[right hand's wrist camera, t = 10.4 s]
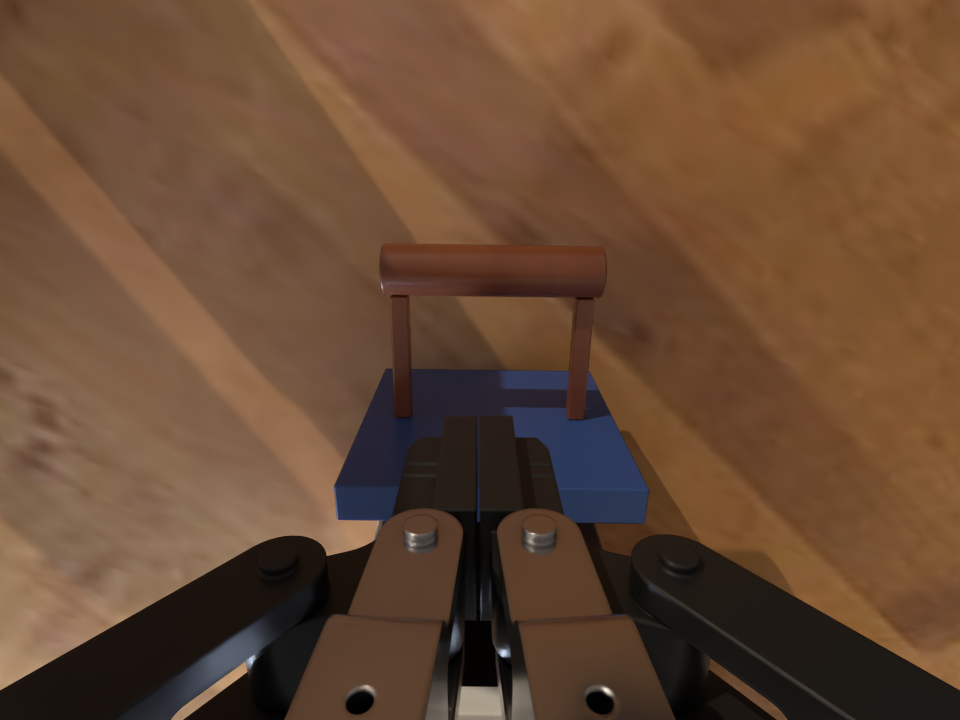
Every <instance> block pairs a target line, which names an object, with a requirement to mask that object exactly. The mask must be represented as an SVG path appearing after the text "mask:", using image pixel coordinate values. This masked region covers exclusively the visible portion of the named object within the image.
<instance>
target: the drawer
mask: <svg viewBox="0 0 960 720" xmlns="http://www.w3.org/2000/svg"><path fill="white" fill-rule="evenodd" d="M606 276H607V260H606V253H605V250H604V248H603V247H597V246H527V245H458V244H388V243H385V244H383V245H382V248H381V252H380V283H381V289H382V292H383V294H384V295H391V296H390V314H391V338H392V361H393V369H386V370H385V372H384V374H383V376H382V379H381V381H380V383H379V385H378V388H377V390H376V392H375V394H374V397H373V399H372V401H371V404H370V406H369V408H368V410H367V413H366V415H365V417H364V419H363V422H362V424H361V426H360V429H359V431H358V433H357V435H356V438H355V440H354V442H353V444H352V447H351V449H350V451H349V454H348V456H347V458H346V460H345V463H344V465H343V467H342V469H341V472H340V474H339V476H338V478H337V481H336V483H335V485H334V492H335V503H336V514H337V519H338V520H379V521H383V522H382V526H383V525H384V523H385V522H386V521H388V520H389V519H390V518H392V514H393V509H394V505H395V501H396V497H397V493H398V489H399V485H400V481H401V477H402V472H403V468H404V466H405V460H406V456H407V452H408V449H409V448H410V447H411V446H412V445H413V444H414V443H415V442H416V441H417V440H418V439H419V438H420V437H442V432H443V425H444V417H445V416H477V600H476V620H465V630H464V656H465V658H464V671H463V679H462V686H469V687H498V679H497V671H496V658H495V656H496V649H495V647H494V644H493V641H492V623H491V621H480V416H513V424H514V432H515V437H537V438H538V439H539V440H540V441H541V442H542V443H543V444H544V445H545V446H546V447H547V448H548V449H549V452H550V456H551V460H552V466H553V469H554V473H555V478H556V482H557V486H558V491H559V495H560V499H561V503H562V508H563V512H564V515H565V516H567V517H568V518H570V519H571V520H572V521H574V522H575V523H576V525H577V526H578V527H579V529H580V531H581V533H582V536H583V538H584V541H585V543H586V544H588V545H590V546H592V547H595V548H598V549H600V550H603V548H602V545H601V542H600V539H599V535H598V532H597V529H596V526H595V523H629V524H643V523H645V518H646V510H647V503H648V496H649V488H648V486H647V484H646V482H645V480H644V478H643V476H642V474H641V473H640V471H639V469H638V467H637V465H636V463H635V461H634V459H633V457H632V455H631V453H630V451H629V449H628V447H627V445H626V443H625V441H624V439H623V437H622V435H621V433H620V431H619V429H618V427H617V425H616V423H615V421H614V419H613V417H612V415H611V413H610V411H609V409H608V407H607V405H606V403H605V401H604V399H603V397H602V395H601V393H600V391H599V389H598V387H597V385H596V383H595V381H594V379H593V377H592V375H591V373H590V372H588V368H589V356H590V345H591V333H592V322H593V310H594V299H593V298H600V297H601V296H602V295H603V292H604V289H605V284H606ZM410 295H419V296H491V297H563V298H574V307H573V320H572V334H571V347H570V361H569V371H512V370H437V369H412V362H411V329H410ZM382 526H381V527H382Z"/></svg>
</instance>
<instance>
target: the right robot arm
mask: <svg viewBox="0 0 960 720" xmlns="http://www.w3.org/2000/svg"><path fill="white" fill-rule="evenodd" d="M476 600H477V416H445V417H444V425H443V432H442V437H420V438H419V439H418V440H417V441H416V442H415V443H414V444H413V445H412V446H411V447H410V448H409V449H408V452H407V456H406V460H405V466H404V468H403V472H402V477H401V481H400V485H399V489H398V493H397V497H396V501H395V505H394V509H393V514H392V518H390V519H389V520H388V521H386V522H385V523H384V525H383V526H382V527H381V529H380V531H379V533H378V536H377V538H376V540H374V541H373V542H371V543H369V544H367V545H365V546H363V547H361V548H358V549H355V550H351V551H348V552H343V553H339V554H334V555H330V556H326V552H325V549H324V548H323V546H322V545H321V544H320V543H319V542H317V541H315V540H313V539H311V538H308V537H303V536H283V537H278V538H274V539H270V540H267V541H265V542H262V543H260V544H258V545H256V546H254V547H252V548H250V549H249V550H247V551H245V552H243V553H242V554H240V555H238V556H236V557H235V558H233V559H231V560H229V561H228V562H226V563H224V564H222V565H220V566H219V567H217V568H215V569H213V570H212V571H210V572H208V573H206V574H205V575H203V576H201V577H199V578H198V579H196V580H194V581H192V582H191V583H189V584H187V585H185V586H183V587H182V588H180V589H178V590H176V591H175V592H173V593H171V594H169V595H168V596H166V597H164V598H162V599H161V600H159V601H157V602H155V603H154V604H152V605H150V606H148V607H146V608H145V609H143V610H141V611H139V612H138V613H136V614H134V615H132V616H131V617H129V618H127V619H125V620H124V621H122V622H120V623H118V624H117V625H115V626H113V627H111V628H109V629H108V630H106V631H104V632H102V633H101V634H99V635H97V636H95V637H94V638H92V639H90V640H88V641H87V642H85V643H83V644H81V645H80V646H78V647H76V648H74V649H72V650H71V651H69V652H67V653H65V654H64V655H62V656H60V657H58V658H57V659H55V660H53V661H51V662H50V663H48V664H46V665H44V666H43V667H41V668H39V669H37V670H35V671H34V672H32V673H30V674H28V675H27V676H25V677H23V678H21V679H20V680H18V681H16V682H14V683H13V684H11V685H9V686H7V687H6V688H4V689H2V690H0V720H171V718H172V717H173V716H174V715H175V714H176V713H177V712H178V711H179V710H180V709H181V708H182V707H183V706H184V705H186V704H187V703H188V702H190V701H191V700H192V699H194V698H195V697H197V696H198V695H199V694H201V693H202V692H203V691H205V690H206V689H208V688H209V687H210V686H212V685H213V684H214V683H216V682H217V681H219V680H220V679H221V678H223V677H224V676H226V675H227V674H228V673H230V672H231V671H232V670H234V669H235V668H237V667H238V666H239V665H241V664H242V663H243V662H245V661H246V666H247V671H248V672H247V673H246V674H244V675H243V676H242V677H240V678H239V679H238V680H236V681H235V682H234V683H232V684H231V685H230V686H228V687H227V688H225V689H224V690H223V691H221V692H220V693H219V694H217V695H216V696H215V697H213V698H212V699H211V700H209V701H208V702H207V703H205V704H204V705H203V706H201V707H200V708H199V709H197V710H196V711H194V712H193V713H192V714H190V715H189V716H188V717H186V718H185V719H184V720H458V713H459V704H460V696H461V687H462V679H463V671H464V658H465V656H464V630H465V620H476ZM480 621H491V623H492V641H493V644H494V647H495V649H496V656H495V658H496V671H497V679H498V687H499V696H500V704H501V713H502V720H776V719H775V718H774V717H772V716H771V715H770V714H768V713H767V712H765V711H764V710H763V709H761V708H760V707H759V706H757V705H756V704H755V703H753V702H752V701H751V700H749V699H748V698H747V697H745V696H744V695H743V694H741V693H740V692H739V691H737V690H736V689H735V688H733V687H732V686H730V685H729V684H728V683H726V682H725V681H724V680H722V679H721V678H720V677H718V676H717V675H716V674H714V673H713V672H712V671H710V670H709V665H710V660H711V659H712V660H714V661H715V662H717V663H718V664H719V665H721V666H722V667H723V668H725V669H726V670H728V671H729V672H730V673H732V674H733V675H734V676H736V677H737V678H739V679H740V680H741V681H743V682H744V683H746V684H747V685H748V686H750V687H751V688H752V689H754V690H755V691H757V692H758V693H759V694H761V695H762V696H763V697H765V698H766V699H768V700H769V701H770V702H772V703H773V704H774V705H775V706H776V707H777V708H778V709H780V710H781V712H782V713H783V714H784V715H785V716H786V718H787V719H788V720H960V690H958V689H956V688H954V687H953V686H951V685H949V684H947V683H946V682H944V681H942V680H940V679H939V678H937V677H935V676H933V675H932V674H930V673H928V672H926V671H925V670H923V669H921V668H919V667H917V666H916V665H914V664H912V663H910V662H909V661H907V660H905V659H903V658H902V657H900V656H898V655H896V654H895V653H893V652H891V651H889V650H888V649H886V648H884V647H882V646H880V645H879V644H877V643H875V642H873V641H872V640H870V639H868V638H866V637H865V636H863V635H861V634H859V633H858V632H856V631H854V630H852V629H851V628H849V627H847V626H845V625H843V624H842V623H840V622H838V621H836V620H835V619H833V618H831V617H829V616H828V615H826V614H824V613H822V612H821V611H819V610H817V609H815V608H814V607H812V606H810V605H808V604H806V603H805V602H803V601H801V600H799V599H798V598H796V597H794V596H792V595H791V594H789V593H787V592H785V591H784V590H782V589H780V588H778V587H777V586H775V585H773V584H771V583H769V582H768V581H766V580H764V579H762V578H761V577H759V576H757V575H755V574H754V573H752V572H750V571H748V570H747V569H745V568H743V567H741V566H740V565H738V564H736V563H734V562H732V561H731V560H729V559H727V558H725V557H724V556H722V555H720V554H718V553H717V552H715V551H713V550H711V549H710V548H708V547H706V546H704V545H702V544H700V543H698V542H696V541H694V540H691V539H688V538H685V537H681V536H676V535H654V536H650V537H646V538H644V539H642V540H640V541H639V542H638V543H637V544H636V545H635V546H634V548H633V550H632V555H631V557H630V556H625V555H621V554H616V553H612V552H608V551H604V550H600V549H598V548H595V547H592V546H590V545H588V544H586V543H585V541H584V538H583V536H582V533H581V531H580V529H579V527H578V526H577V525H576V523H575V522H574V521H572V520H571V519H570V518H568V517H567V516H565V515H564V512H563V508H562V503H561V499H560V495H559V491H558V486H557V482H556V478H555V473H554V469H553V466H552V460H551V456H550V452H549V449H548V448H547V447H546V446H545V445H544V444H543V443H542V442H541V441H540V440H539V439H538V438H537V437H515V432H514V424H513V416H480Z"/></svg>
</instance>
